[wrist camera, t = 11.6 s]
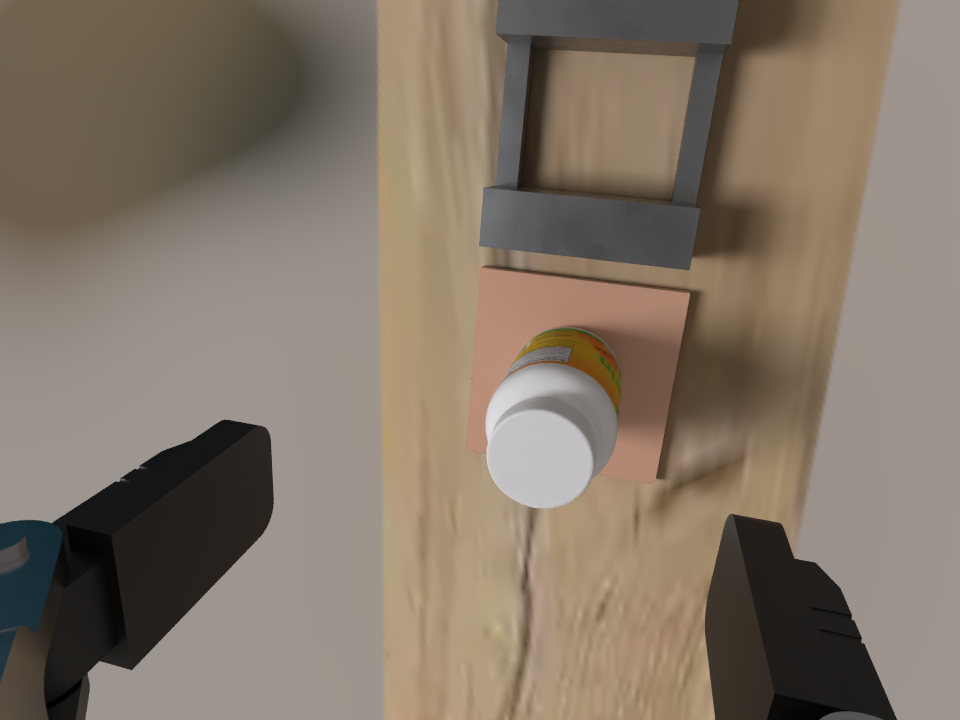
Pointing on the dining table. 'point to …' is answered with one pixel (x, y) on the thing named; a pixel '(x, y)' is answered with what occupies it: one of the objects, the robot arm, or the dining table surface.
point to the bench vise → (598, 217)
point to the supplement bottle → (554, 417)
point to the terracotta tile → (604, 312)
